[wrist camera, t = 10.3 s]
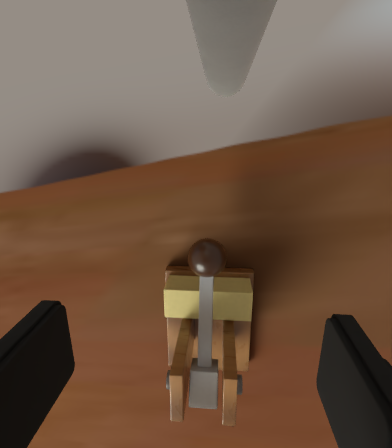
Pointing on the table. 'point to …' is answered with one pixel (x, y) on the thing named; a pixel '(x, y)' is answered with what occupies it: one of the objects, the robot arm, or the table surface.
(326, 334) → the robot arm
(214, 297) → the butter
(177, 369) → the wooden toy catapult
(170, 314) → the butter
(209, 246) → the ball knob on post
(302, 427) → the table surface
